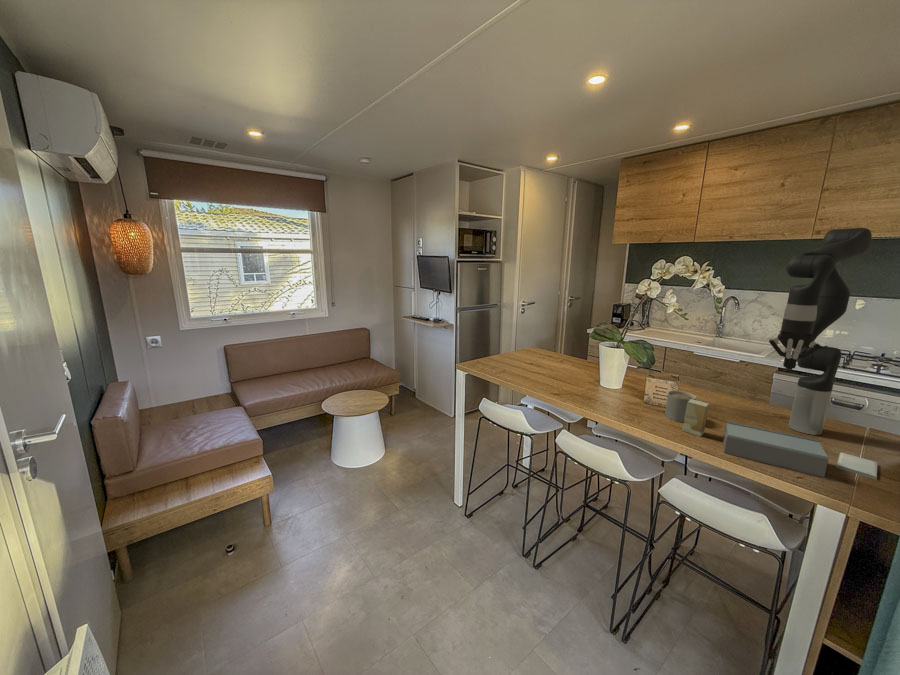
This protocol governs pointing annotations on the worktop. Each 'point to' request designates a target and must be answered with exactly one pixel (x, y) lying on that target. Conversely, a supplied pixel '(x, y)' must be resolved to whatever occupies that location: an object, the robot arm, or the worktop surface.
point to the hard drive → (857, 465)
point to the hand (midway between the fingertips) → (788, 368)
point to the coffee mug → (677, 405)
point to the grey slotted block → (775, 456)
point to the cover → (776, 439)
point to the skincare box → (695, 417)
